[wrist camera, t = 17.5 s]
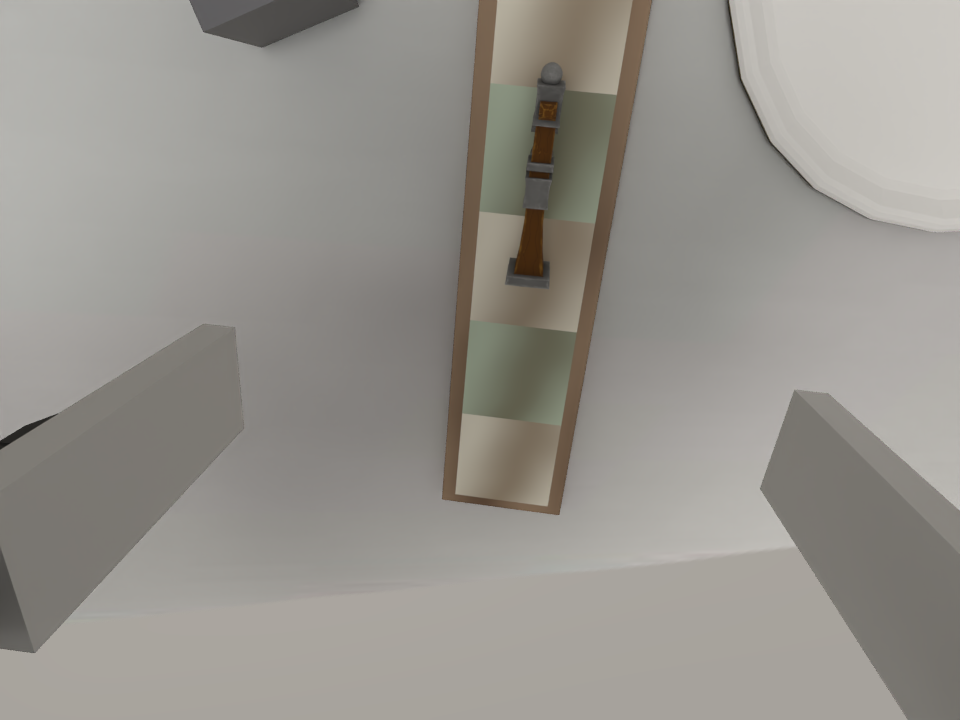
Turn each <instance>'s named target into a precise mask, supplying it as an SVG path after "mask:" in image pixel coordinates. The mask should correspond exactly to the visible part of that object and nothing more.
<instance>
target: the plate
mask: <svg viewBox="0 0 960 720" xmlns="http://www.w3.org/2000/svg"><path fill="white" fill-rule="evenodd" d="M728 5H729V11H730V18H731V24H732V30H733V37H734V43H735V49H736V56H737V62H738V68H739V74H740V80H741V82H742V84H743V86H744V88H745V90H746V92H747V95H748V97H749V99H750V101H751V103H752V105H753V107H754V109H755V112H756V114H757V116H758V118H759V120H760V122H761V124H762V127H763V129H764V131H765V133H766V135H767V137H768V139H769V141H770V142H771V144H772V145H773V146H774V147H775V148H776V149H777V150H778V151H779V152H780V153H781V154H782V155H783V156H784V157H785V159H786V160H787V161H788V162H789V163H790V164H791V165H792V166H793V167H794V168H795V169H796V170H797V171H798V173H799V174H800V175H801V176H802V177H803V178H804V179H805V180H806V181H807V182H808V183H809V184H810V185H811V187H812V188H814V189H816V190H818V191H820V192H821V193H823V194H825V195H827V196H829V197H830V198H832V199H834V200H836V201H838V202H840V203H841V204H843V205H845V206H847V207H849V208H850V209H852V210H854V211H856V212H858V213H860V214H861V215H863V216H865V217H867V218H869V219H872V220H877V221H882V222H887V223H891V224H896V225H901V226H906V227H911V228H915V229H920V230H925V231H930V232H935V233H936V232H956V231H960V0H728Z"/></svg>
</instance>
